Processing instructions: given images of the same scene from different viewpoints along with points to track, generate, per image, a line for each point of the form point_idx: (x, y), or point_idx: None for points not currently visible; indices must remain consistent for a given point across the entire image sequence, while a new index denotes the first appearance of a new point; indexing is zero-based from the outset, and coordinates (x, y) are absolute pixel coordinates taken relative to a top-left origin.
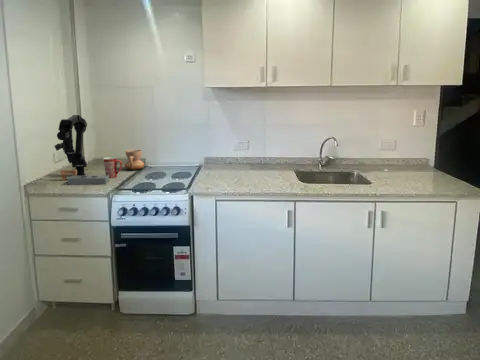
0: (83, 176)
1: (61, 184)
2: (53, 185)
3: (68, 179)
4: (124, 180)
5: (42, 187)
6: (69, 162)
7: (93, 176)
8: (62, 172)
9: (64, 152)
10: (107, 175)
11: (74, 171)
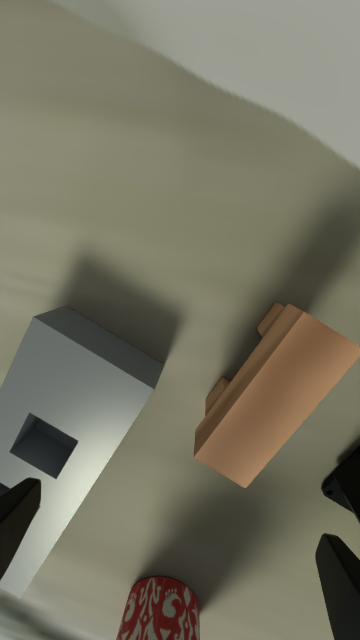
0: (70, 456)
1: (102, 260)
2: (96, 189)
3: (36, 321)
4: (28, 610)
5: (60, 74)
6: (14, 491)
7: (36, 513)
8: (280, 330)
9: None
10: (18, 591)
11: (199, 445)
